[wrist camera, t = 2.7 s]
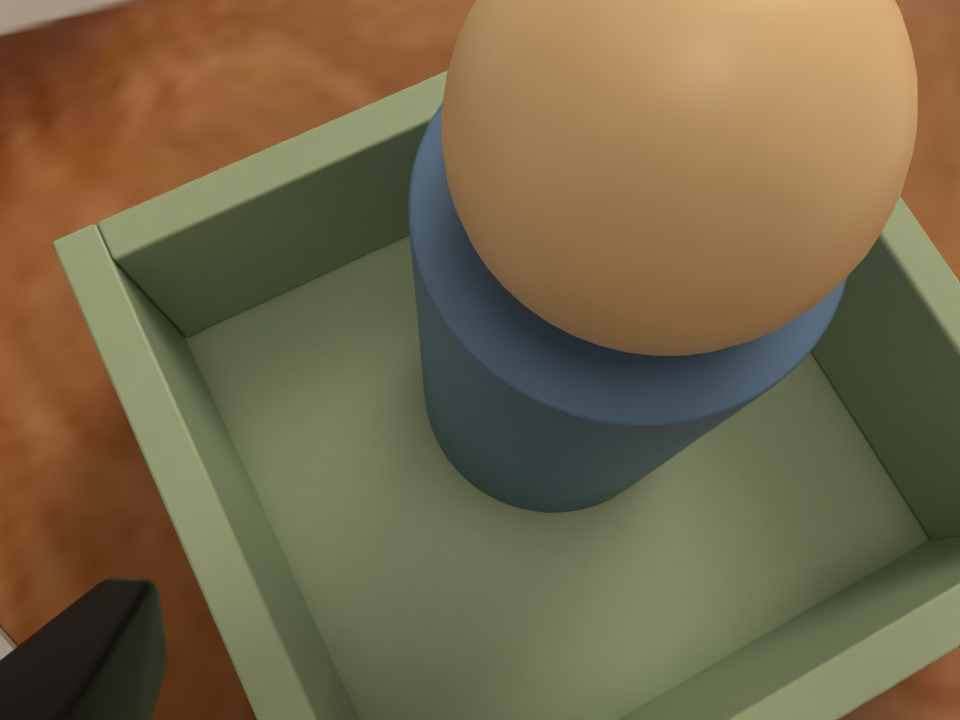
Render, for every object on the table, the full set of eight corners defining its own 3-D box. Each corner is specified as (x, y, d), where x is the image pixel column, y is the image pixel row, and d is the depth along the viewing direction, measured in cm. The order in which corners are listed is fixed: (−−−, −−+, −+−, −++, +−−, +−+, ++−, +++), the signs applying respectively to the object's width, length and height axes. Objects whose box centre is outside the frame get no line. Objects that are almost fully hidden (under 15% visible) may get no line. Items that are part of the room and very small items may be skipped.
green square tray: (396, 886, 18) (376, 999, 13) (150, 337, 21) (49, 240, 15) (955, 559, 20) (1139, 538, 15) (664, 101, 23) (730, -54, 18)
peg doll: (497, 559, 19) (606, 441, 6) (381, 334, 20) (272, -157, 7) (720, 440, 19) (1225, 118, 7) (596, 231, 21) (834, -369, 8)
